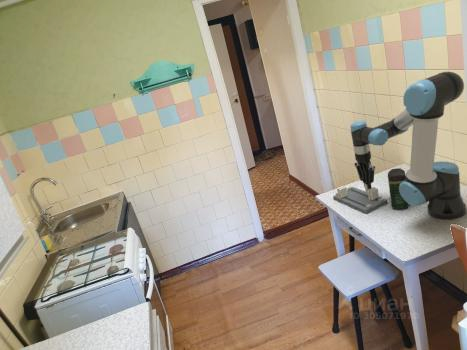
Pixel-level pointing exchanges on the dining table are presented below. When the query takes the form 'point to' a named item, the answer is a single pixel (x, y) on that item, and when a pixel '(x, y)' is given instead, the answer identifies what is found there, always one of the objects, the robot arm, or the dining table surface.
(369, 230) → the dining table surface
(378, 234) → the dining table surface
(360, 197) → the console
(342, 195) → the fader
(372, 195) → the fader
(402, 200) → the coffee jar
